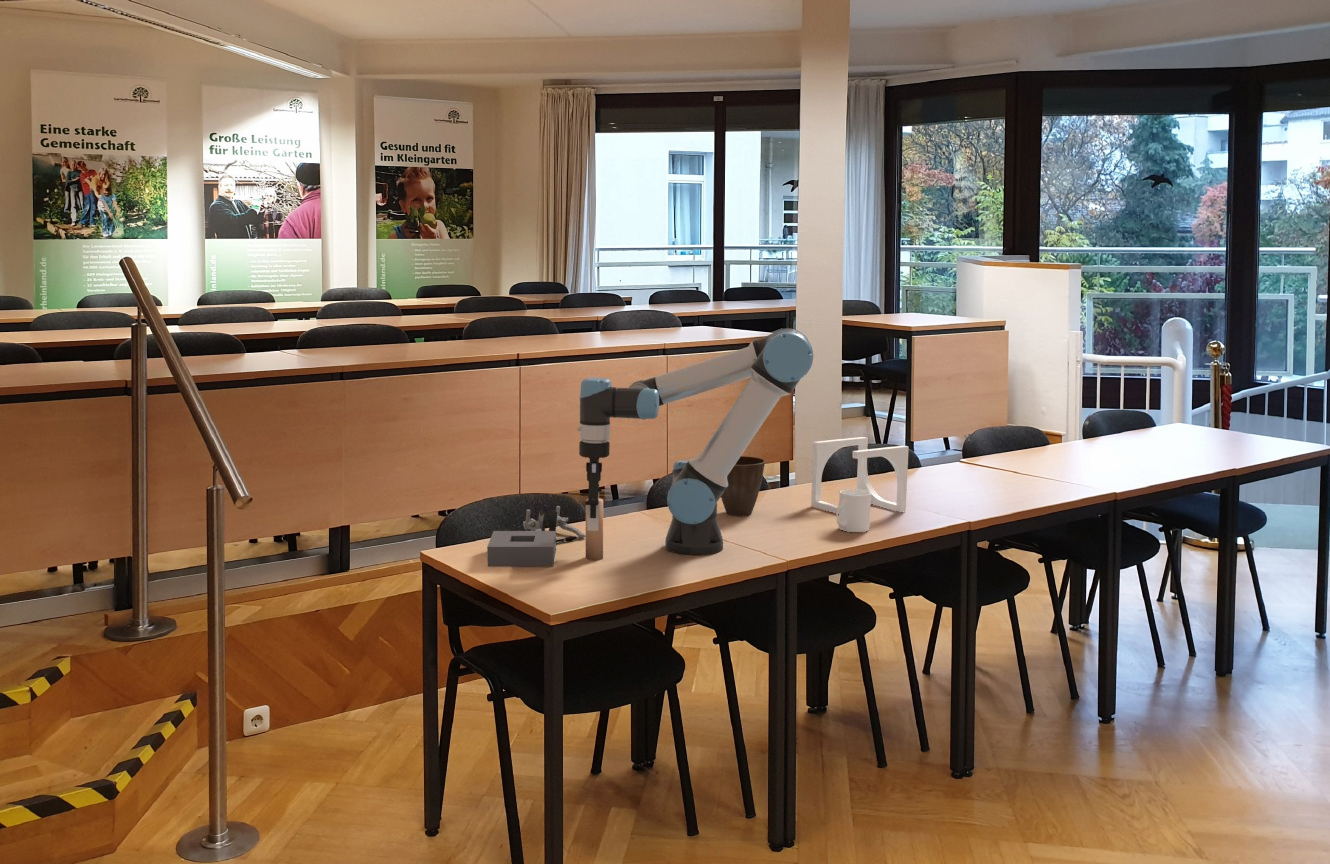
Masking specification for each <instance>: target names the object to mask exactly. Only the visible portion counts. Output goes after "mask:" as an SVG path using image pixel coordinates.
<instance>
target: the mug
mask: <svg viewBox="0 0 1330 864" xmlns="http://www.w3.org/2000/svg"><path fill="white" fill-rule="evenodd" d="M838 496H839V500H838V502H839V503H838V505H837V506H838V507H837V512H836V514H835V515H836V516H835V517H836V523H837V525H838V529H839V530H840V531H841V530H843V531H842V532H844V531H847V532H846V533H849V532H863V533H866V531H867V532H868V531H870V530H869V529H870V525H871V524H870V521H871V504H870V501H871V493H870V492H869V491H865V490H858V489H857V488H855V489H853V488H850V489H842V490H840V491H839V495H838ZM838 513H839V515H838Z"/></svg>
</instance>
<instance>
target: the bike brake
mask: <svg viewBox="0 0 1330 864" xmlns="http://www.w3.org/2000/svg"><path fill="white" fill-rule="evenodd" d="M560 511H561V506H559V505H557V506H556V508H555V510H554V509H553V508H551V509H550V514H549V526H548V527H549V528H548V531H556V530H557V528H558V527H559V528H560V529H562V530H565V531H567V532H570V533H572V534H575V535H577V536H575V535H574V536H573V535H570V536H567V537H556V545H557V544H564V543H565V542H572V541H575V540H577V539H579V540H581V541H582V540H586V534H585V533H583V532H582V531H581V530H580V529H579V528H576V527H574V526H572V525H570V524H568V523H567V522H569V517H562V516H560ZM525 513H526V515H525V521H524V520H523V523H522V526H523V529H524V531H546V523H547V514H546V512H545V511H543V510H542V509H541V510H539V513H538V519H537V520H536V519H534V518H531V509H526V512H525ZM556 532H557V531H556Z"/></svg>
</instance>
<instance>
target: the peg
mask: <svg viewBox="0 0 1330 864" xmlns="http://www.w3.org/2000/svg"><path fill="white" fill-rule="evenodd" d="M598 500H599V518H598V531H587V515H588V505H585V535H586V537H585V559H586V560H588V561H600V560H603V559H604V499H603V498H600V497H599V498H598ZM585 501H588V498H586V499H585Z"/></svg>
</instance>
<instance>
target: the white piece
mask: <svg viewBox="0 0 1330 864" xmlns="http://www.w3.org/2000/svg"><path fill="white" fill-rule="evenodd" d="M868 445H869V437H865V436H859V437H849V438H848V437H847V438H838V439H829V440H818V441H817V440H816V441H813V442H812V471H811V498H810V499H811V501H810V506H811V508H816V509H818V508H819V509H818V510H821V509H822V511H825V510H826V511H825V512H828V511H829V513H831V512H833V513H832V514H835V513H836V512H837V507H838V505H837V504H833V503H829V502H826V501H822V478H823V477H822V476H823V472H824V468H825V466H826V464H827V462H828V461H829V459H830V458H831V457H832V455H833V454H834V453H836V452H837V451H838V450H840V449H843V448H845V447H852V446H857V450H852V457H851V458H852V459H857V470H856V471H857V473H856V474H857V475H856V489H858V490H865V491H869V492H870V493H871V501H870V505H871V504H873V505H872V506H875V505H877V506H876V507H878V506H880V507H879V508H882V507H883V509H885V508H887V510H889V509H891V510H890V511H892V510H896V511H899V512H903V511H907V494H908V493H907V491H908V489H907V488H908V470H909V467H908V466H909V446H907V445H898V446H896V445H895V446H887V447H879V448H868ZM877 457H881V458H885V459H886V460H887V461H888V462H889V463H890V464H891V466H892V467H893V469H894V472H895V474H896V484H897V485H896V502H895V501H894V502H893V501H891V500H886V499H884V498H883V497H881V496H880V495H879V494H878V493H877V492H876V491H875V489H874V488H873V486H872V483H871V482H870V478H869V474H868V458H877ZM896 511H895V512H896ZM899 512H898V513H899ZM903 513H904V512H903ZM838 514H839V513H838Z"/></svg>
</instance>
